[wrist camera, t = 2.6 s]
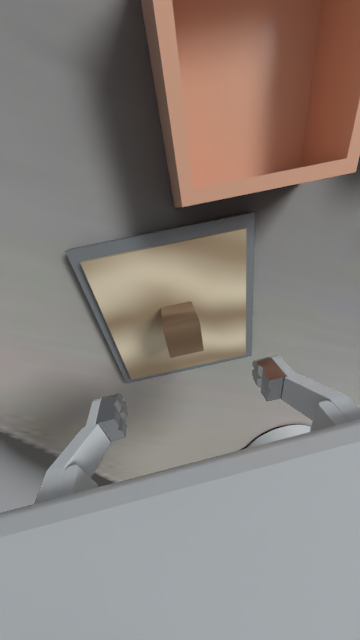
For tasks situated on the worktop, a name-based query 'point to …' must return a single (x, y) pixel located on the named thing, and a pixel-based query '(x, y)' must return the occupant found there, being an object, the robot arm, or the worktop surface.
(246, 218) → the mat
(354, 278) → the worktop surface
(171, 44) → the salmon open box
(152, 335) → the lid
